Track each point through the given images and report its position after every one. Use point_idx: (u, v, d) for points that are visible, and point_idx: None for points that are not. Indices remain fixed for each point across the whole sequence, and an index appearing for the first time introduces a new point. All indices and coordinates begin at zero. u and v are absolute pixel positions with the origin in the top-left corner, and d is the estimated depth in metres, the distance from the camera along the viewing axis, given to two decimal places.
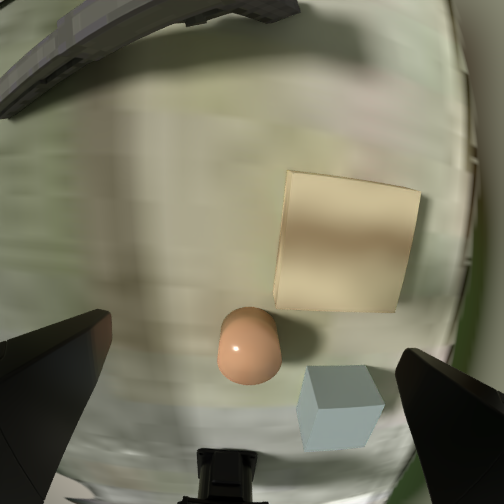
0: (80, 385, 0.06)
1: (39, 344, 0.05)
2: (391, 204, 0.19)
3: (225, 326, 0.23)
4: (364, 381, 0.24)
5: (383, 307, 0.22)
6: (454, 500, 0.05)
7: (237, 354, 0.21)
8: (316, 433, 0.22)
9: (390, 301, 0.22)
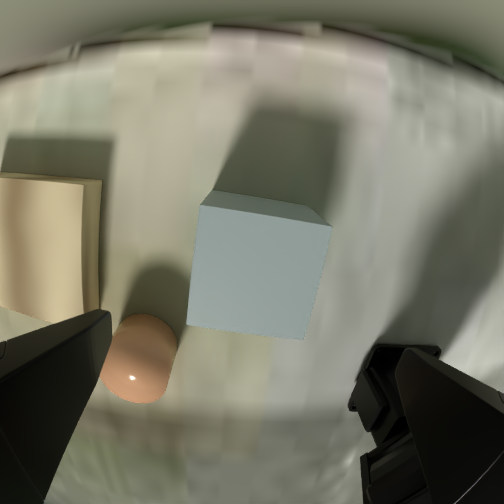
0: (80, 385, 0.06)
1: (39, 344, 0.05)
2: None
3: None
4: None
5: (75, 204, 0.15)
6: (454, 500, 0.05)
7: (122, 385, 0.17)
8: (251, 324, 0.14)
9: (68, 195, 0.15)
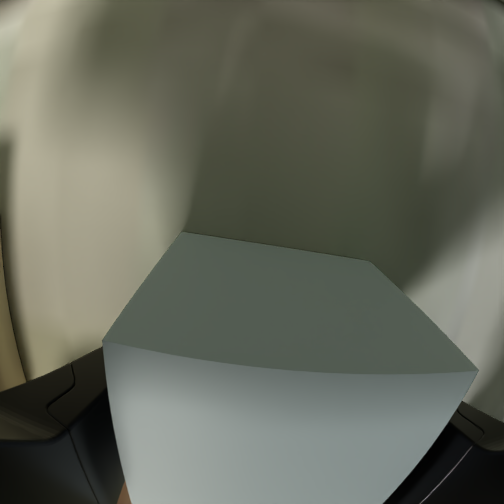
0: None
1: None
2: None
3: None
4: None
5: None
6: None
7: None
8: None
9: None
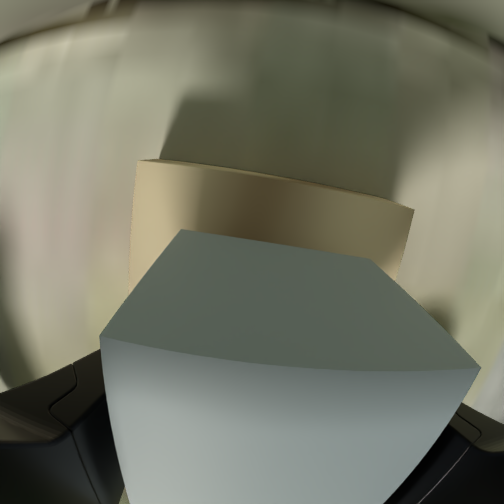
0: None
1: None
2: (166, 235, 0.10)
3: None
4: None
5: (396, 238, 0.10)
6: None
7: None
8: None
9: (387, 223, 0.10)
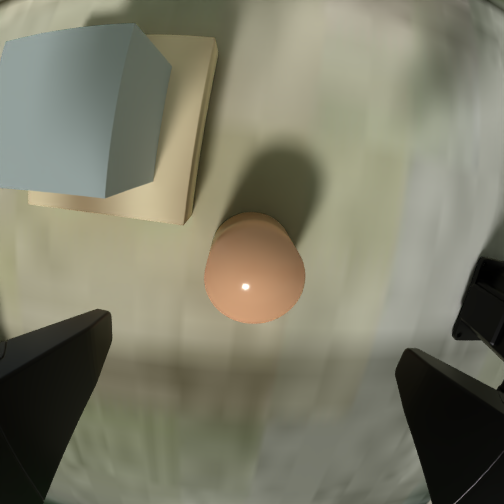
0: (80, 385, 0.06)
1: (39, 344, 0.05)
2: None
3: None
4: None
5: (201, 57, 0.12)
6: (454, 500, 0.05)
7: (236, 293, 0.14)
8: (39, 175, 0.08)
9: (192, 47, 0.12)
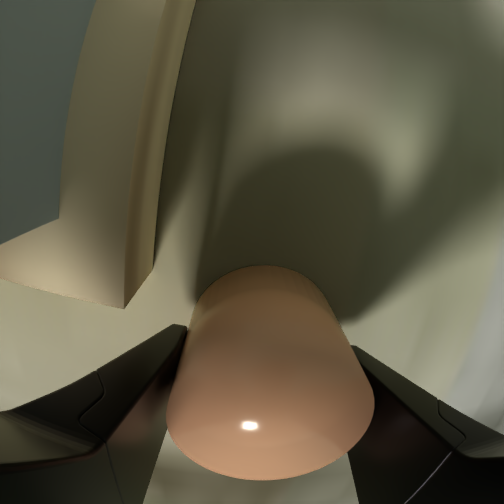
0: None
1: (137, 371, 0.05)
2: None
3: None
4: None
5: None
6: None
7: (232, 447, 0.06)
8: None
9: None
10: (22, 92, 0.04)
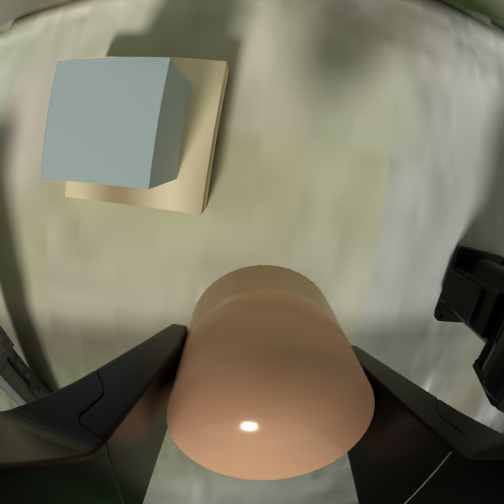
0: (167, 406, 0.07)
1: (137, 371, 0.05)
2: None
3: None
4: None
5: (215, 78, 0.16)
6: None
7: (232, 447, 0.06)
8: (94, 171, 0.12)
9: (208, 69, 0.16)
10: (176, 133, 0.15)
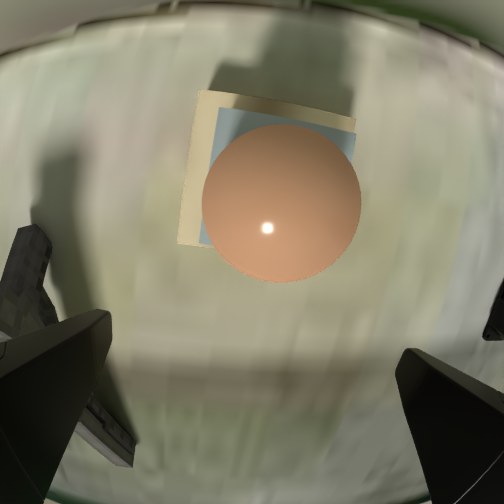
0: (80, 385, 0.06)
1: (39, 344, 0.05)
2: (213, 129, 0.17)
3: None
4: None
5: None
6: (454, 500, 0.05)
7: (252, 229, 0.09)
8: None
9: (339, 125, 0.17)
10: None
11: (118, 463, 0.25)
